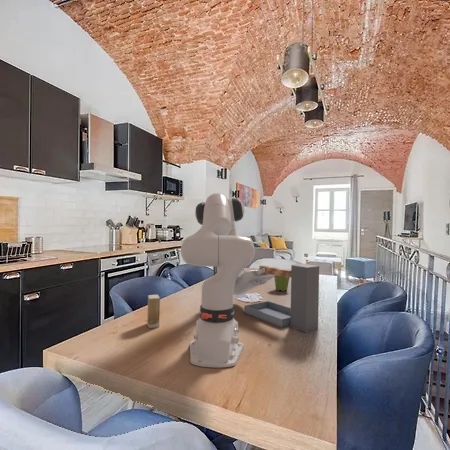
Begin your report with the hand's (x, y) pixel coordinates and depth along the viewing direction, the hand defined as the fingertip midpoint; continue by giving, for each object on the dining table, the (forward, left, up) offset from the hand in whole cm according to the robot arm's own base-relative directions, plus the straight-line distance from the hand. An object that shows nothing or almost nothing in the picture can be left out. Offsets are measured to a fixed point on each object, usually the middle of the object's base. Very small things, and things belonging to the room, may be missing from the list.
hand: (268, 268), depth 139 cm
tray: (-3, -3, -22) cm, 22 cm away
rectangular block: (-3, -3, -2) cm, 5 cm away
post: (-16, -14, -22) cm, 30 cm away
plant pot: (+52, -14, -22) cm, 58 cm away
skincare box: (-20, +49, -22) cm, 58 cm away
